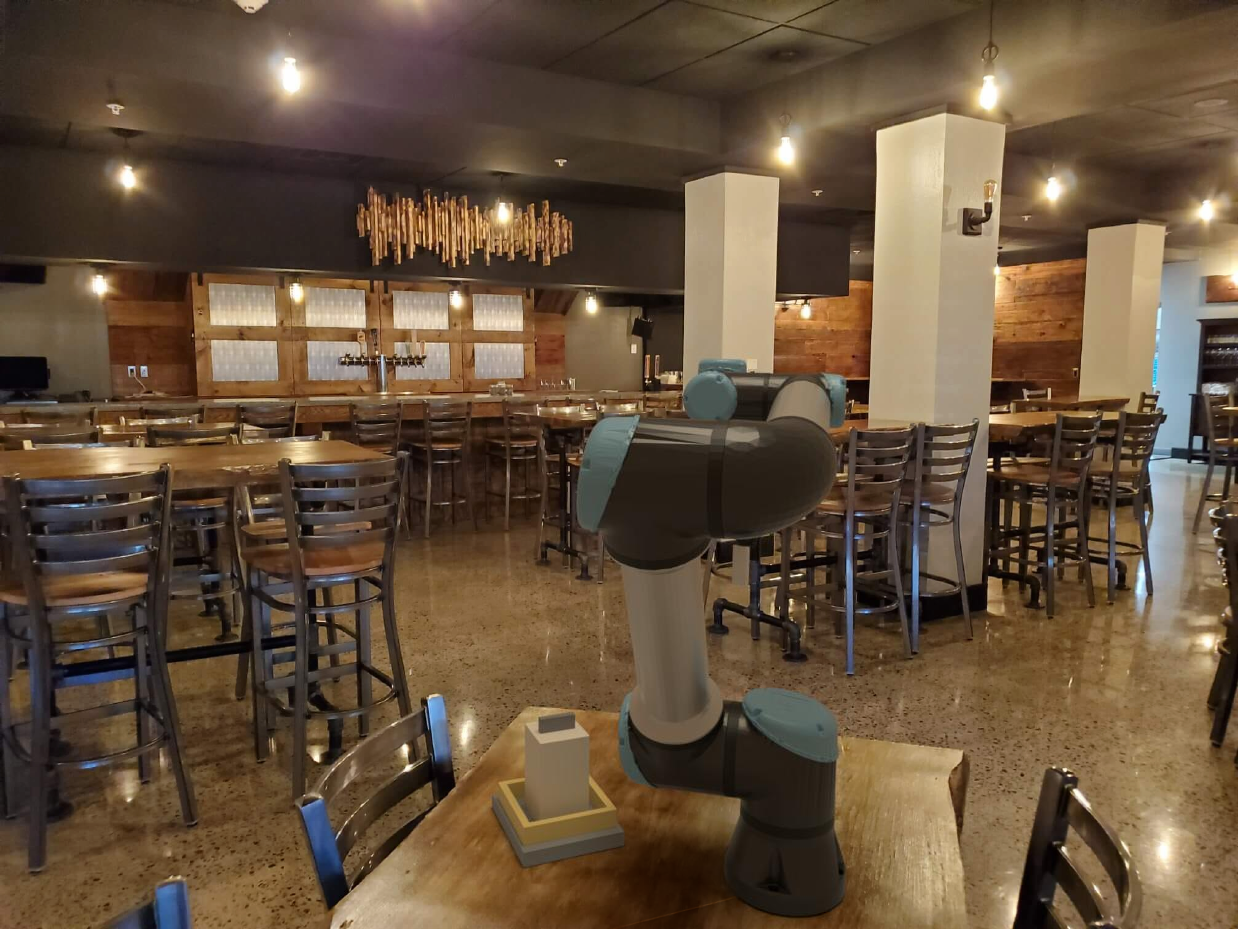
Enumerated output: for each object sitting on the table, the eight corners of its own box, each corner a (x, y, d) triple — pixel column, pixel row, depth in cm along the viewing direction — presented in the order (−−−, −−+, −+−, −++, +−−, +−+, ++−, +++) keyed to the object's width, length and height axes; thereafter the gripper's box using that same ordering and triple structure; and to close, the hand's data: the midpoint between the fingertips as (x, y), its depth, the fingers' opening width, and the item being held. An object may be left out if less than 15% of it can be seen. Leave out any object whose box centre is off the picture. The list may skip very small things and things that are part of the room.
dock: (624, 845, 114) (624, 814, 113) (523, 867, 108) (523, 834, 108) (582, 790, 129) (583, 762, 128) (492, 807, 123) (492, 778, 123)
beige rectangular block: (588, 819, 117) (589, 721, 115) (539, 829, 114) (540, 729, 112) (571, 795, 123) (572, 702, 121) (524, 804, 120) (525, 709, 119)
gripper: (744, 452, 143) (740, 575, 146) (649, 462, 125) (646, 603, 127) (783, 455, 138) (778, 583, 141) (689, 467, 120) (686, 613, 122)
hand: (715, 593), depth 134 cm, fingers open, 13 cm apart
